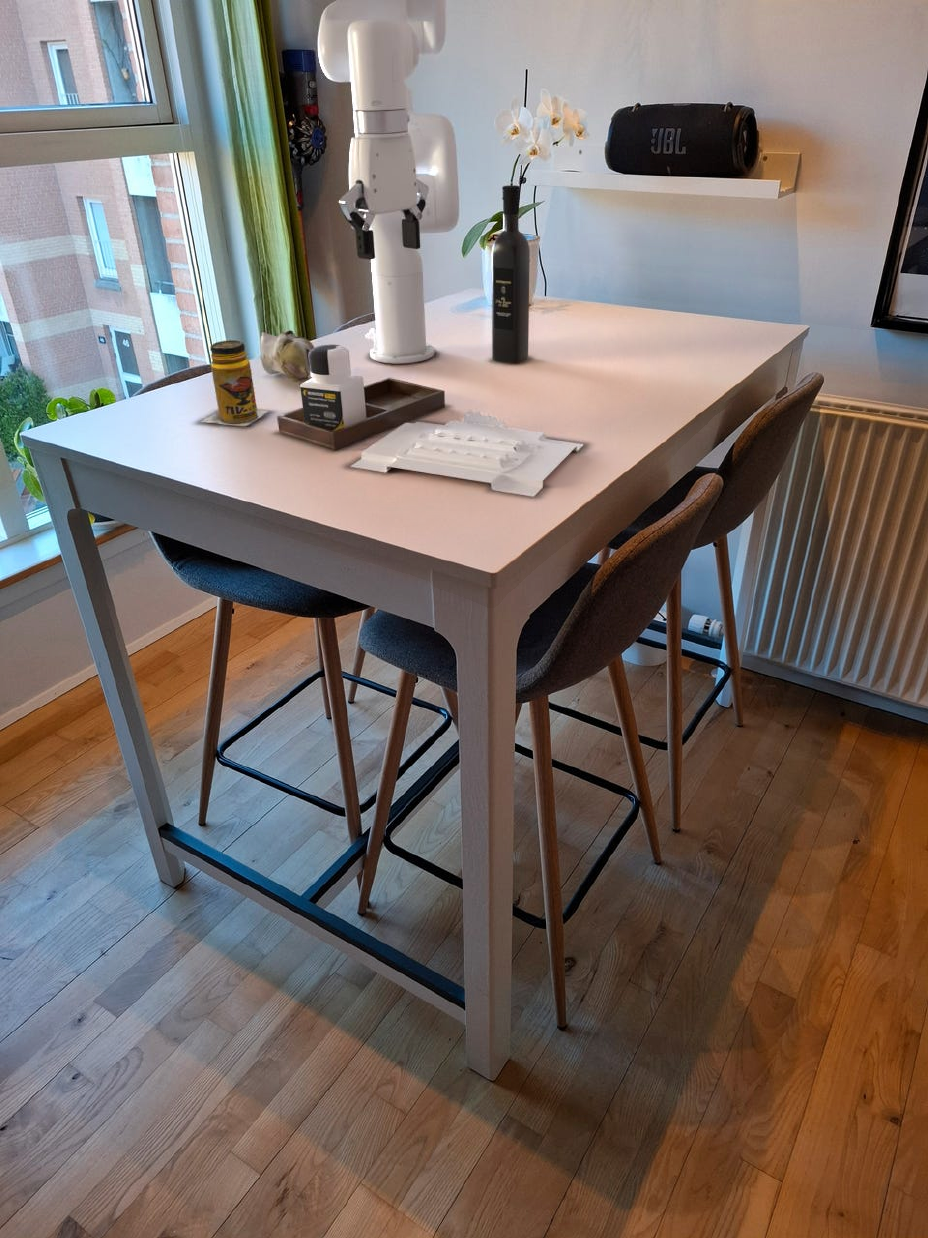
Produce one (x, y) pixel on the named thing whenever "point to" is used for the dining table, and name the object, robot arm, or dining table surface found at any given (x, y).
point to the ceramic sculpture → (286, 355)
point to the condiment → (233, 385)
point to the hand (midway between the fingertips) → (389, 252)
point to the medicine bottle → (332, 390)
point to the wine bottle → (510, 285)
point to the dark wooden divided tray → (369, 413)
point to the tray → (471, 452)
